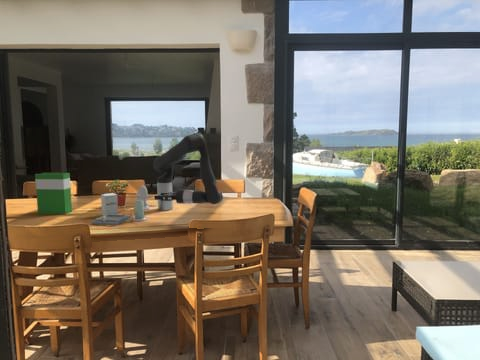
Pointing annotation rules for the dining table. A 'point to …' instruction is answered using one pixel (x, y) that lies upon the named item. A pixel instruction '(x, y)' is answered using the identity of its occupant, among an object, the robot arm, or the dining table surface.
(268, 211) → the dining table surface
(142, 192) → the chess piece
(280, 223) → the dining table surface
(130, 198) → the dining table surface
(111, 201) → the supplement box
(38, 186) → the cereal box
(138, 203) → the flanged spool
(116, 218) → the locating board
